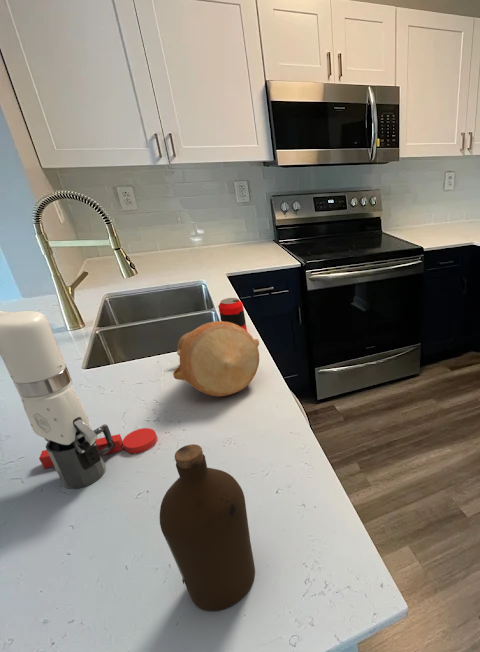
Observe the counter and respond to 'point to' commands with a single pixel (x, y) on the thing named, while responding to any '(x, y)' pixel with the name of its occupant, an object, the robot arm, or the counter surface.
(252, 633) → the counter surface
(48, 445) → the mug
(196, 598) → the olive oil
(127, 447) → the spoon
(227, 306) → the soda can
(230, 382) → the jug
